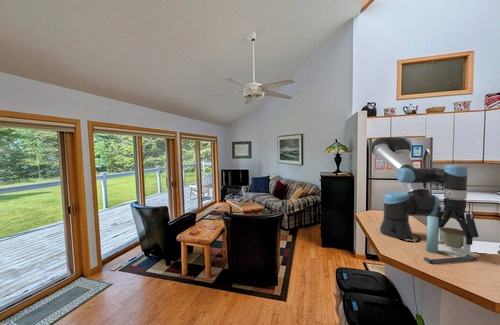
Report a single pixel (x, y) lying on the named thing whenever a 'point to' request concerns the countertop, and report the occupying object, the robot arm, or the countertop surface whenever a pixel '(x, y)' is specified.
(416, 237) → the countertop surface
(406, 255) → the countertop surface
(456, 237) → the beige bowl
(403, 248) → the countertop surface
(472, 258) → the rail
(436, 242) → the dowel
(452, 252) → the coaster
